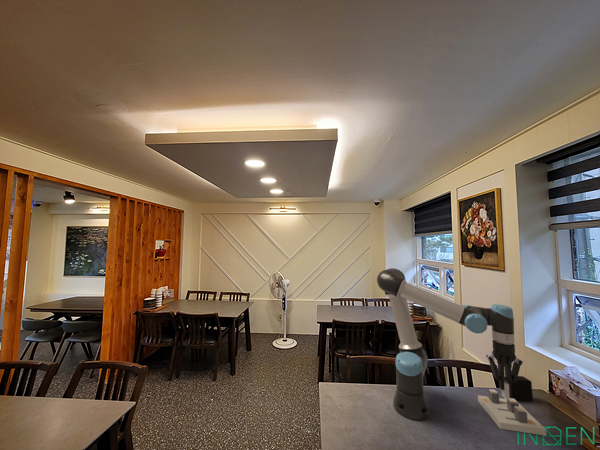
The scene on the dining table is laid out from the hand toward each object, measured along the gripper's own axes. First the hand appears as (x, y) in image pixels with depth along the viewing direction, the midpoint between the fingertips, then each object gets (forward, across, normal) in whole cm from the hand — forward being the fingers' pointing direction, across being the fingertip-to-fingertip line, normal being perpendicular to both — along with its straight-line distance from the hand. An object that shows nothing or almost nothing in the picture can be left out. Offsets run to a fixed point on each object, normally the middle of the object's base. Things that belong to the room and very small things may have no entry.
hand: (505, 397), depth 104 cm
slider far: (+8, +1, +12) cm, 14 cm away
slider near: (+8, +5, 0) cm, 9 cm away
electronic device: (+11, +17, +22) cm, 29 cm away
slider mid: (+8, +6, +6) cm, 11 cm away
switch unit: (+11, +4, +6) cm, 13 cm away
